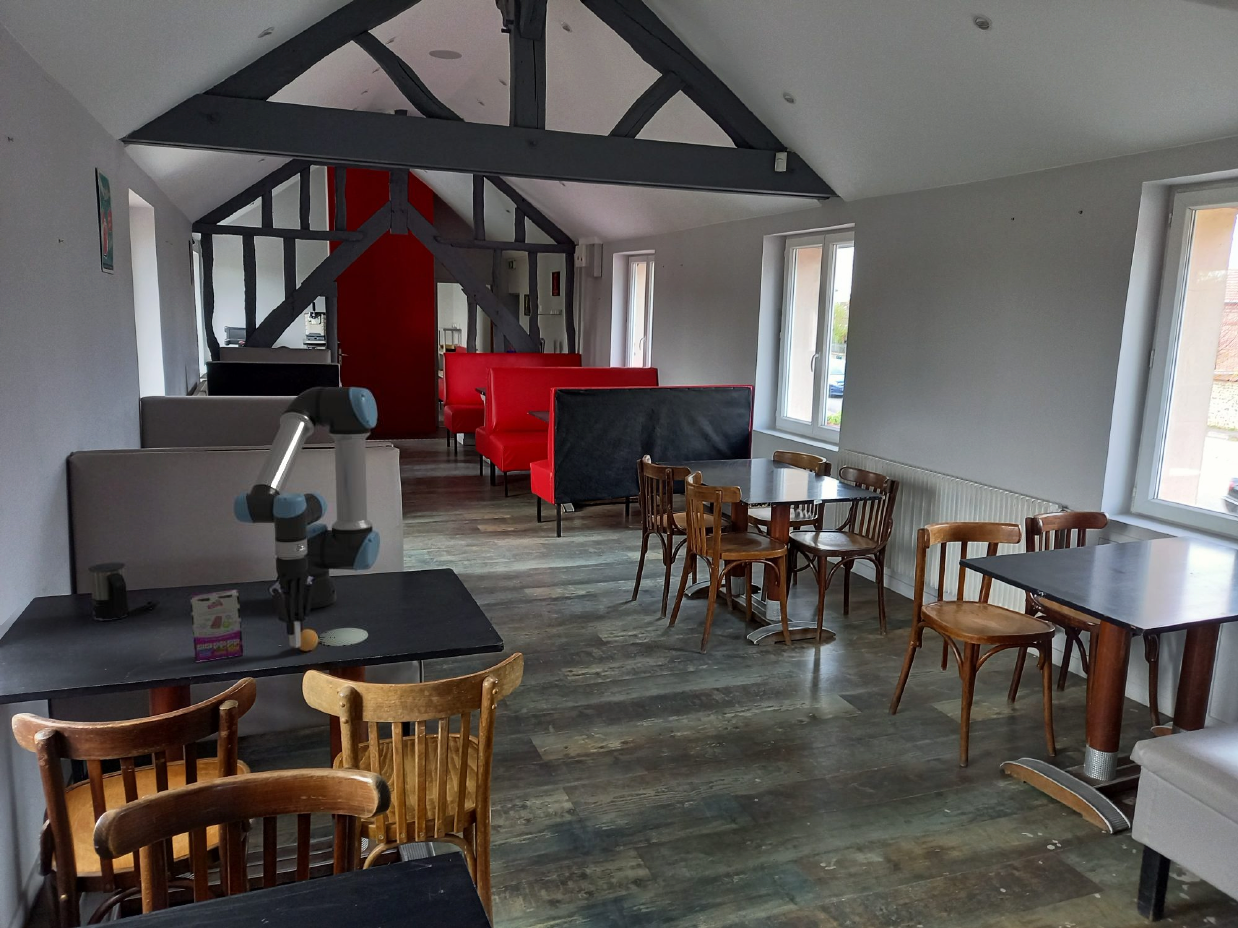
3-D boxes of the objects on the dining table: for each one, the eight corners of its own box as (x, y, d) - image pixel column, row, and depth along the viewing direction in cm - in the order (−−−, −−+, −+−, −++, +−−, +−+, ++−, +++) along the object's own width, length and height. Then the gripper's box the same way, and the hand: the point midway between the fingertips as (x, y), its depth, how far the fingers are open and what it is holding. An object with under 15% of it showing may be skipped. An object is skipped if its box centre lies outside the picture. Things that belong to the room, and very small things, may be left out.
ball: (287, 639, 223) (302, 622, 226) (297, 652, 226) (312, 635, 229) (301, 644, 220) (316, 627, 223) (311, 657, 223) (326, 640, 226)
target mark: (307, 638, 233) (307, 638, 233) (347, 625, 243) (347, 624, 243) (338, 649, 225) (338, 649, 225) (378, 635, 236) (378, 634, 236)
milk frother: (84, 619, 246) (80, 568, 243) (134, 602, 260) (130, 554, 257) (120, 626, 240) (115, 574, 238) (169, 609, 255) (165, 560, 252)
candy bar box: (242, 649, 225) (238, 588, 222) (243, 656, 221) (239, 594, 218) (194, 656, 220) (189, 594, 217) (194, 663, 216) (190, 600, 213)
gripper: (277, 563, 211) (281, 656, 215) (323, 552, 222) (326, 641, 225) (259, 558, 215) (263, 649, 219) (304, 548, 226) (308, 635, 229)
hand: (295, 645), depth 222 cm, fingers closed
